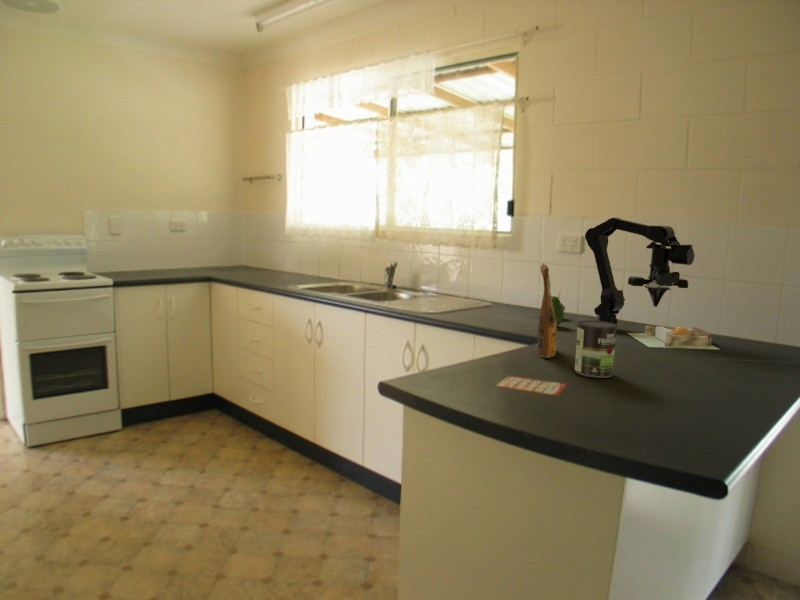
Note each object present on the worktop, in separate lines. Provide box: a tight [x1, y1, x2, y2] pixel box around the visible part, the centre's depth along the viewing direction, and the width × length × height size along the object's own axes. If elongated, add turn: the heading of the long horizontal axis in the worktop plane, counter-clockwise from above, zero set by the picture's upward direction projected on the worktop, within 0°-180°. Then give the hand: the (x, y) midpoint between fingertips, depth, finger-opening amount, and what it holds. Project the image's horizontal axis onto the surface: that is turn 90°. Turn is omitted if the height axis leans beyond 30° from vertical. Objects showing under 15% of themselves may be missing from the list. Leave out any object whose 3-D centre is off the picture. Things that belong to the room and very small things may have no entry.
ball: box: [673, 326, 689, 336], centre depth 201 cm, size 5×5×5 cm
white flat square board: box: [627, 332, 720, 350], centre depth 201 cm, size 23×22×1 cm
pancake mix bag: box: [537, 262, 558, 357], centre depth 179 cm, size 7×19×28 cm, turn 163°
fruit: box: [551, 295, 565, 327], centre depth 223 cm, size 8×8×12 cm
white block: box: [655, 326, 674, 342], centre depth 201 cm, size 2×9×4 cm, turn 177°
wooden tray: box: [643, 325, 713, 347], centre depth 201 cm, size 16×20×4 cm
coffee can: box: [574, 319, 618, 376], centre depth 158 cm, size 10×10×14 cm
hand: (655, 306), depth 204 cm, fingers closed
